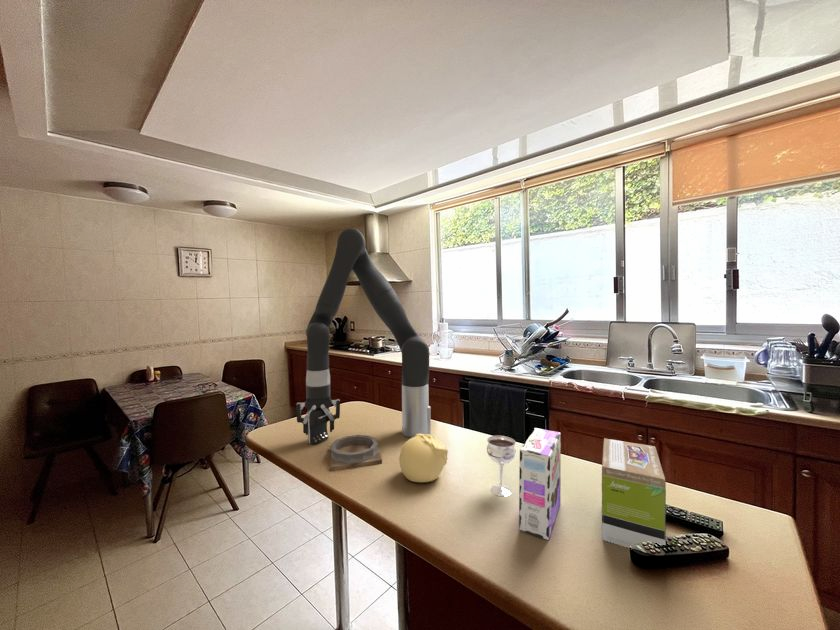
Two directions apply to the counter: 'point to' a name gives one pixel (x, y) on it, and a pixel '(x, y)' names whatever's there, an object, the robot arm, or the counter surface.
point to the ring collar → (354, 452)
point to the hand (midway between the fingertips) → (318, 432)
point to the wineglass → (501, 459)
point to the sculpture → (423, 458)
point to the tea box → (632, 494)
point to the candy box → (540, 482)
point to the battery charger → (317, 426)
